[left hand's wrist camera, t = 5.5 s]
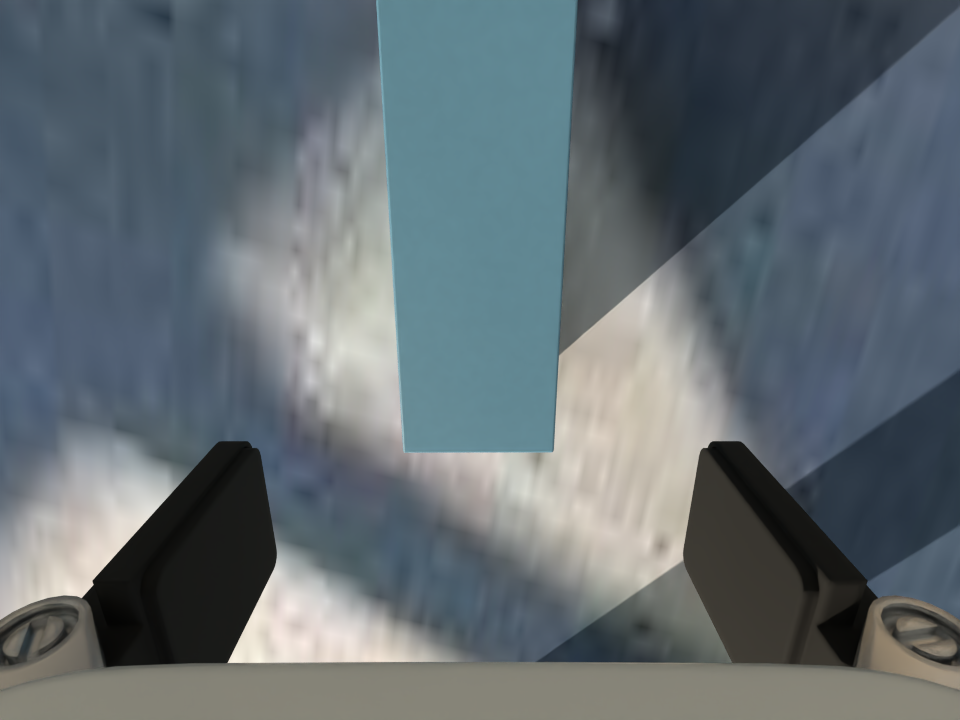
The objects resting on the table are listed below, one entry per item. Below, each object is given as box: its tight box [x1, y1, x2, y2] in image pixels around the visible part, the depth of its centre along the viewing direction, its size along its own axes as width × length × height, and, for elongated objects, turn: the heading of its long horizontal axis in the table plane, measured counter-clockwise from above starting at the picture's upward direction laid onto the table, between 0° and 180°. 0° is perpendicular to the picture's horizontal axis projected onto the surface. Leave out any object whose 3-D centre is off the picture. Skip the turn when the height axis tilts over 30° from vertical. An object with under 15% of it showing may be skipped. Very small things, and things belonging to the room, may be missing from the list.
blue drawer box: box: [376, 0, 578, 452], centre depth 22 cm, size 17×6×8 cm, turn 0°
